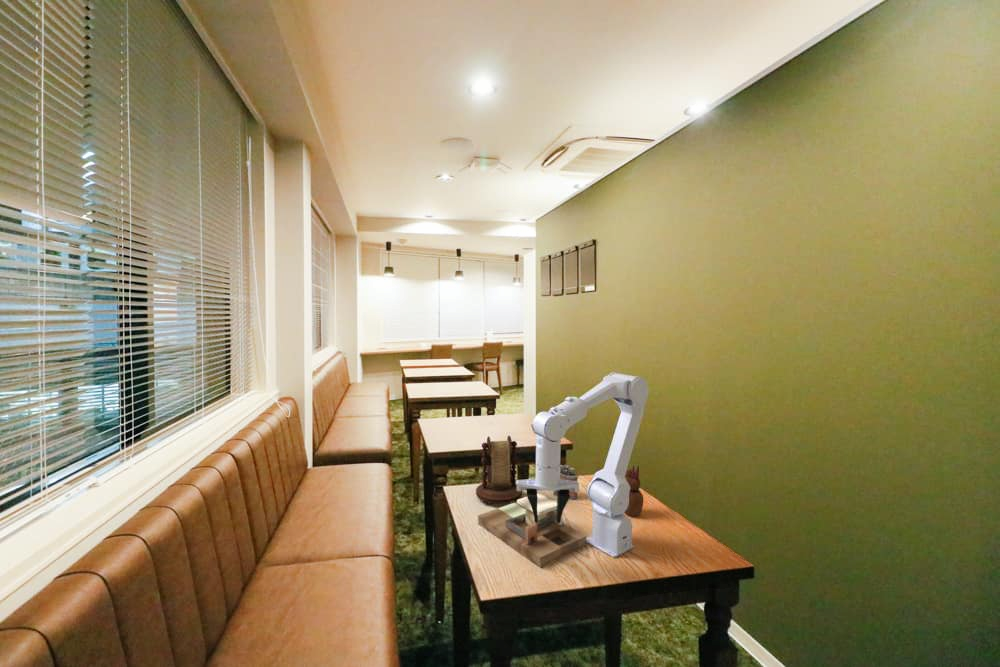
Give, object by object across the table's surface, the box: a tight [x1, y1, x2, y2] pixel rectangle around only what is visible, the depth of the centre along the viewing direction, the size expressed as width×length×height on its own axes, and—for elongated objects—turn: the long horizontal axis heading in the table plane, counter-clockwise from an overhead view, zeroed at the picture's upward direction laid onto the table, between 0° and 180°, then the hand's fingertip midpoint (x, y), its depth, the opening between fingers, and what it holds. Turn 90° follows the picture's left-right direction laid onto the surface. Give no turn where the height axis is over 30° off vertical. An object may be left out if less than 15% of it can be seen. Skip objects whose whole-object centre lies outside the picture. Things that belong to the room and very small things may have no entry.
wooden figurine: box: [624, 465, 644, 518], centre depth 126 cm, size 7×6×15 cm
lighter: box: [553, 464, 579, 501], centre depth 137 cm, size 8×3×10 cm, turn 58°
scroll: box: [475, 435, 523, 506], centre depth 136 cm, size 15×15×20 cm
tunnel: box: [477, 491, 587, 569], centre depth 114 cm, size 26×16×8 cm, turn 37°
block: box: [525, 508, 547, 525], centre depth 115 cm, size 4×4×4 cm
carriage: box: [505, 513, 551, 544], centre depth 111 cm, size 10×12×4 cm
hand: (547, 520), depth 100 cm, fingers open, 5 cm apart
